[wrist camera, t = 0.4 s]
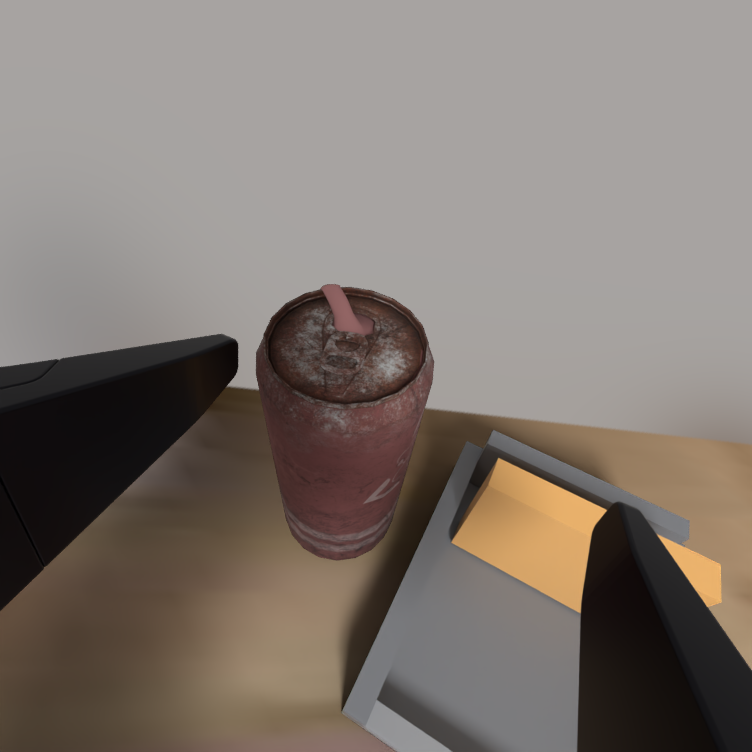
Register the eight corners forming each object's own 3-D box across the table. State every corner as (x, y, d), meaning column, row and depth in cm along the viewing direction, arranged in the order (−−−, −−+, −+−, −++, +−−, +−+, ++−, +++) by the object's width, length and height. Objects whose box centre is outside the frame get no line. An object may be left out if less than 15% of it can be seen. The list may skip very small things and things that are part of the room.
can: (362, 444, 27) (383, 261, 17) (410, 533, 24) (476, 374, 13) (271, 479, 25) (227, 295, 15) (309, 583, 22) (288, 442, 11)
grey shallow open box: (620, 910, 16) (714, 968, 12) (341, 713, 19) (344, 708, 15) (650, 563, 24) (711, 531, 20) (455, 465, 27) (475, 421, 23)
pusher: (620, 635, 21) (721, 601, 15) (451, 542, 23) (487, 485, 18) (626, 587, 22) (720, 541, 17) (466, 504, 24) (505, 440, 19)
